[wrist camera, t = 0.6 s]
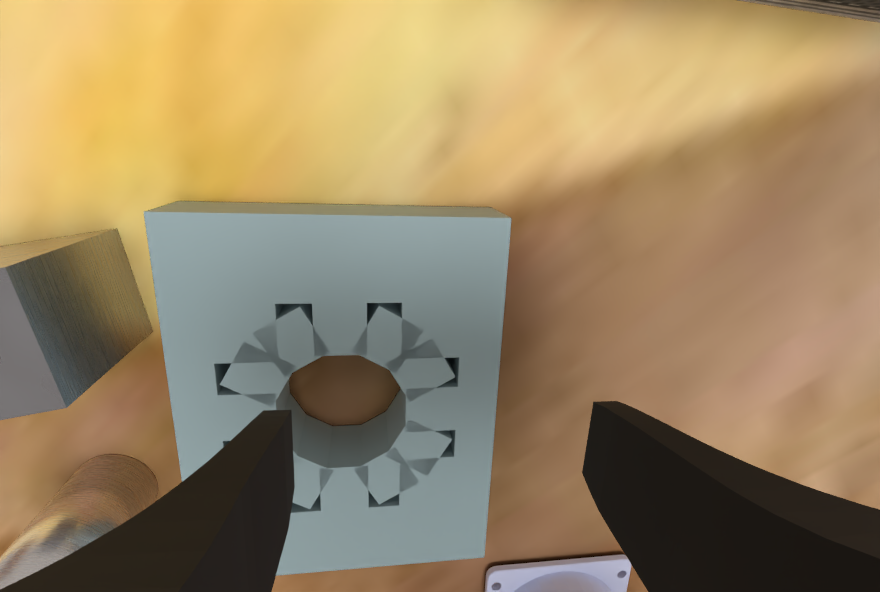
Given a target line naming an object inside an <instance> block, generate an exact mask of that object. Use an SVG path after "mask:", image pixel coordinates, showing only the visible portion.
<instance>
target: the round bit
mask: <svg viewBox="0 0 880 592" xmlns="http://www.w3.org/2000/svg"><path fill="white" fill-rule="evenodd" d="M157 494H158V484H157V480H156V478H155V476H154V474H153V473H152V471H151V470H150V469H149V468H148V467H147V466H146V465H144V464H143V463H142V462H140V461H138V460H136V459H134V458H131V457H128V456H124V455H118V454H107V455H101V456H97V457H94V458H92V459H90V460H88V461H87V462H85V463H84V464H83V465H81V466H80V468H79V469H78V470H77V471H76V472H75V473H74V474H73V475H72V477H71V478H70V479H69V480H68V481H67V482H66V483H65V485H64V486H63V487H62V488H61V489H60V490H59V491H58V492H57V494H56V495H55V496H54V497H53V498H52V499H51V500H50V501H49V503H48V504H47V505H46V506H45V507H44V508H43V509H42V511H41V512H40V513H39V514H38V515H37V516H36V517H35V518H34V520H33V521H32V522H31V523H30V524H29V525H28V526H27V527H26V529H25V530H24V531H23V532H22V533H21V534H20V535H19V536H18V538H17V539H16V540H15V541H14V542H13V543H12V544H11V546H10V547H9V548H8V549H7V550H6V551H5V552H4V553H3V555H2V556H1V557H0V589H2V588H4V587H6V586H8V585H10V584H12V583H15V582H17V581H19V580H21V579H23V578H25V577H27V576H29V575H31V574H33V573H35V572H37V571H39V570H41V569H43V568H45V567H47V566H49V565H50V564H52V563H54V562H56V561H58V560H60V559H62V558H64V557H66V556H68V555H69V554H71V553H73V552H75V551H76V550H78V549H80V548H82V547H83V546H85V545H87V544H88V543H90V542H92V541H94V540H95V539H97V538H99V537H101V536H102V535H104V534H106V533H107V532H109V531H111V530H113V529H114V528H116V527H118V526H119V525H121V524H123V523H124V522H126V521H127V520H129V519H131V518H132V517H134V516H135V515H137V514H138V513H140V512H141V511H143V510H144V509H146V508H147V507H149V506H150V505H152V504H153V503H154V502H155V500H156V498H157Z"/></svg>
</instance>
